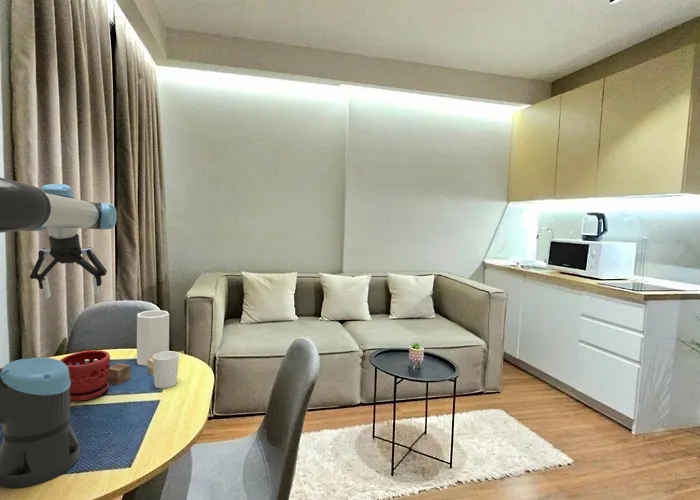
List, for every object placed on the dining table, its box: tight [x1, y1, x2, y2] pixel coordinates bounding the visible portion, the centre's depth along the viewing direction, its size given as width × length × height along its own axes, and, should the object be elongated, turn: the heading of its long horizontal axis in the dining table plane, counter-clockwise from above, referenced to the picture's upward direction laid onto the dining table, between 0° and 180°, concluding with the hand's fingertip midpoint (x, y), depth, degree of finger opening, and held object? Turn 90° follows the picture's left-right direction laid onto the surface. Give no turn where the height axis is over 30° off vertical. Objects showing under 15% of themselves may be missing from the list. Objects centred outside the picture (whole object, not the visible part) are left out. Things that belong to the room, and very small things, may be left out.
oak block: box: [146, 357, 154, 377], centre depth 139 cm, size 5×5×5 cm
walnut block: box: [106, 362, 132, 386], centre depth 131 cm, size 5×5×5 cm
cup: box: [136, 309, 170, 367], centre depth 149 cm, size 11×11×18 cm
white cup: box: [153, 350, 180, 389], centre depth 130 cm, size 8×8×10 cm
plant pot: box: [59, 349, 111, 402], centre depth 120 cm, size 13×13×12 cm
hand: (73, 295), depth 128 cm, fingers open, 13 cm apart
